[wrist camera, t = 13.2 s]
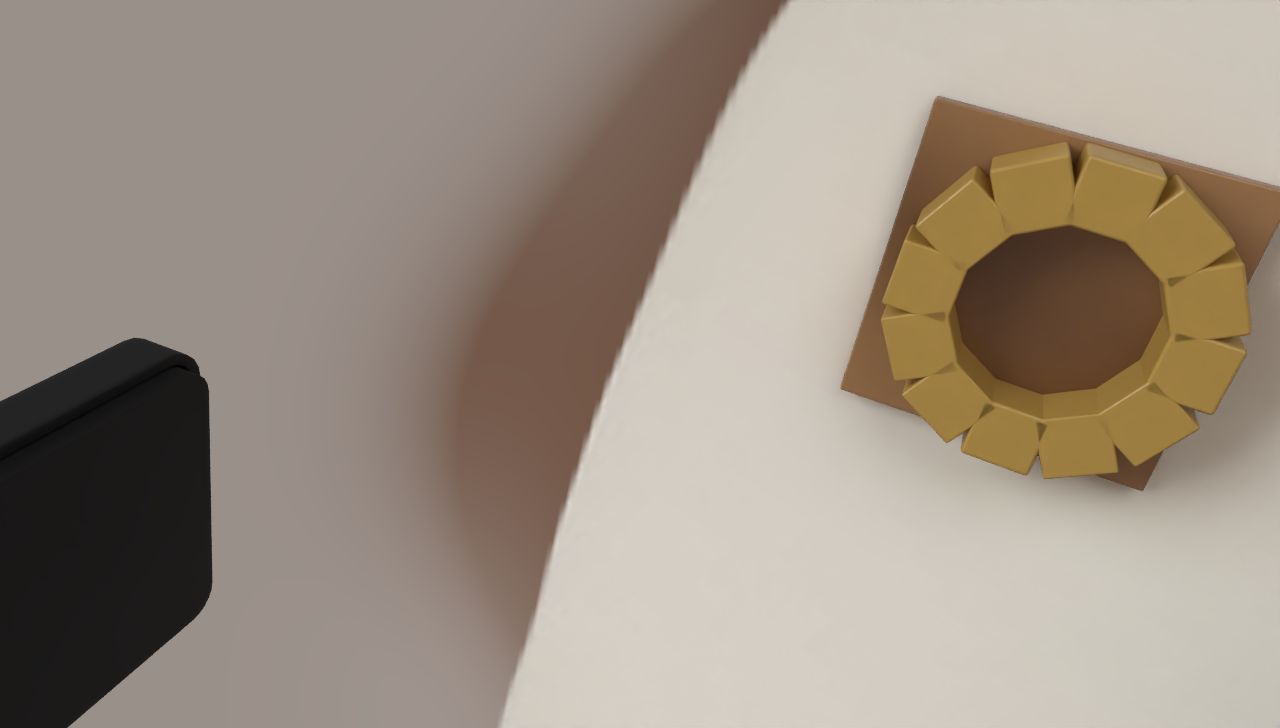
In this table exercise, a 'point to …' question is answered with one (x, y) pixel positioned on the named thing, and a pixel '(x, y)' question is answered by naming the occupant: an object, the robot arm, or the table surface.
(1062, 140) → the coaster
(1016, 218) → the ring
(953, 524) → the table surface
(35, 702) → the robot arm
